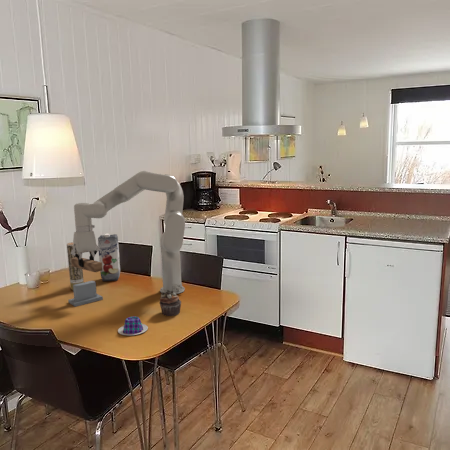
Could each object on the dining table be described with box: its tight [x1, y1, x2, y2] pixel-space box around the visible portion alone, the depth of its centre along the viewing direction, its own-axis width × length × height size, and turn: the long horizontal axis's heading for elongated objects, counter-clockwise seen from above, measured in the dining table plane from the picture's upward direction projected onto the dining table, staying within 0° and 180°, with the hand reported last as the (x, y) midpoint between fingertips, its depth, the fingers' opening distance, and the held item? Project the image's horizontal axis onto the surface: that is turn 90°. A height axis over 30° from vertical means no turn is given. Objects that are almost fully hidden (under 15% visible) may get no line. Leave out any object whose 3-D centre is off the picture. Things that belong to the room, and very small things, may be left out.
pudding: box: [117, 315, 149, 336], centre depth 176 cm, size 12×12×5 cm
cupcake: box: [159, 290, 182, 317], centre depth 193 cm, size 10×10×10 cm
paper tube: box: [66, 241, 84, 291], centre depth 230 cm, size 7×7×25 cm
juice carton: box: [97, 233, 121, 282], centre depth 245 cm, size 9×10×27 cm
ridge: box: [67, 280, 104, 308], centre depth 212 cm, size 8×14×9 cm, turn 131°
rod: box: [71, 257, 102, 273], centre depth 211 cm, size 20×4×4 cm, turn 51°
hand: (86, 265), depth 211 cm, fingers closed on rod, 4 cm apart
